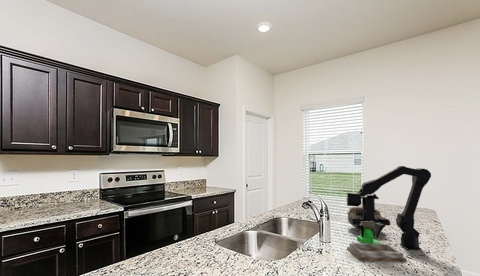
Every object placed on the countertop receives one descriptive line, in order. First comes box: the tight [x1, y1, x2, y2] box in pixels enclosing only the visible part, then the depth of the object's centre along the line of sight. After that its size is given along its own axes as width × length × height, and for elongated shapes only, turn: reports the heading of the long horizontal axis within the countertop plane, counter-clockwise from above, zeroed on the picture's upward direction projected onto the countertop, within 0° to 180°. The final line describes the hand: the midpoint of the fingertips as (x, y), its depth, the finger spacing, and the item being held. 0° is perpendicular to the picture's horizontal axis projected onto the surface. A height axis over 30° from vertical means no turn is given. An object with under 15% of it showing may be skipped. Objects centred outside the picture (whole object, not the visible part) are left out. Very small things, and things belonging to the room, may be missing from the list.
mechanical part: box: [356, 229, 383, 244], centre depth 127 cm, size 12×6×8 cm, turn 2°
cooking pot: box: [346, 206, 382, 232], centre depth 150 cm, size 25×19×12 cm
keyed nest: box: [346, 242, 408, 262], centre depth 112 cm, size 20×13×3 cm, turn 88°
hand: (369, 238), depth 127 cm, fingers open, 7 cm apart
